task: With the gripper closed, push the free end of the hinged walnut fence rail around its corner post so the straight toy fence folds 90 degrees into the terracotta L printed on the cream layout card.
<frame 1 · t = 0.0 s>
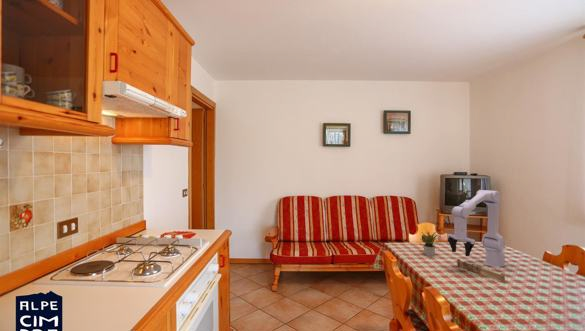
hand: (460, 253, 149), 10 cm above the table, fingers open, 7 cm apart
layout card: (486, 273, 148), on the table
fence panel: (467, 265, 151), point 2 cm above the table, hinge at 0.0°
house plant: (431, 255, 177), on the table
fence fixed: (479, 274, 145), resting on layout card
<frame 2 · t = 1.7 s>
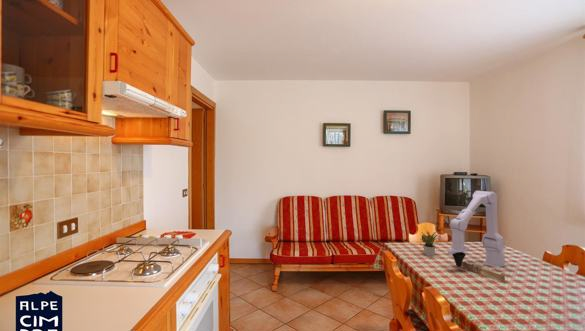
hand: (458, 265, 151), 3 cm above the table, fingers closed
nothing on the table moved.
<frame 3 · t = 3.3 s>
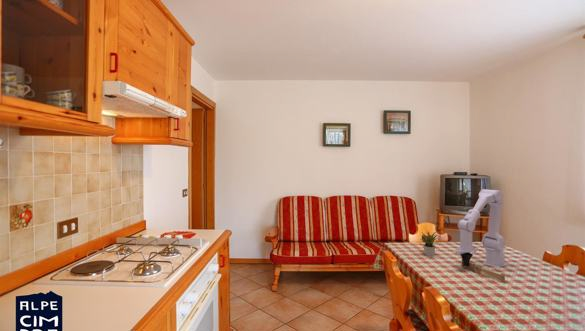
hand: (466, 265, 153), 2 cm above the table, fingers closed, pressing on fence panel
fence panel: (469, 265, 152), point 3 cm above the table, hinge at 16.1°, touching gripper
everything else where it was.
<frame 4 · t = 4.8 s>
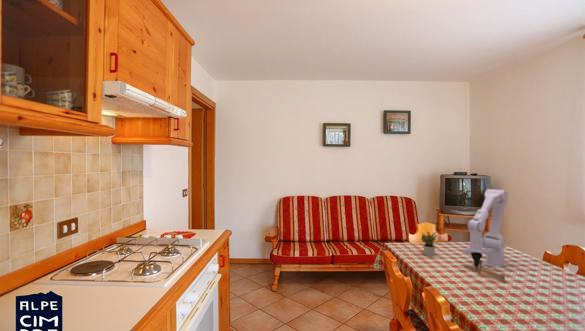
hand: (476, 266, 153), 2 cm above the table, fingers closed, pressing on fence panel
fence panel: (479, 266, 151), point 3 cm above the table, hinge at 58.8°, touching gripper
everything else where it was.
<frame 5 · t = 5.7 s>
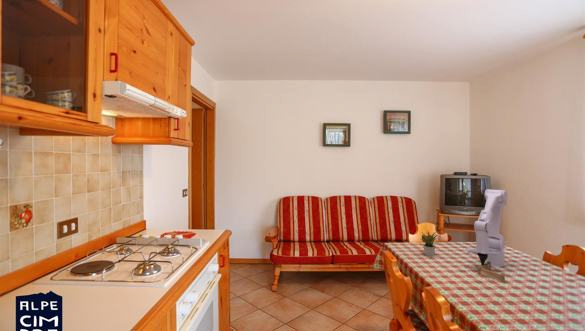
hand: (482, 267, 151), 2 cm above the table, fingers closed, pressing on fence panel
fence panel: (484, 267, 149), point 2 cm above the table, hinge at 80.1°, touching gripper
everything else where it was.
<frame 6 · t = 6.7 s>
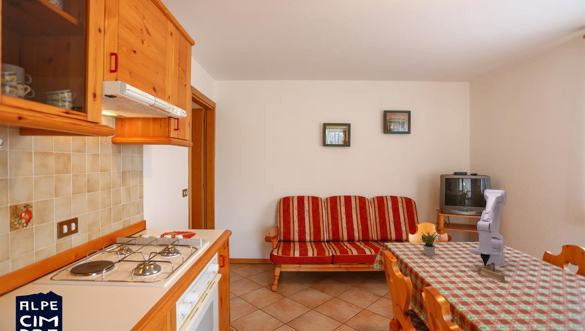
hand: (485, 267, 150), 2 cm above the table, fingers closed
fence panel: (487, 268, 148), point 3 cm above the table, hinge at 90.4°, touching gripper
everything else where it was.
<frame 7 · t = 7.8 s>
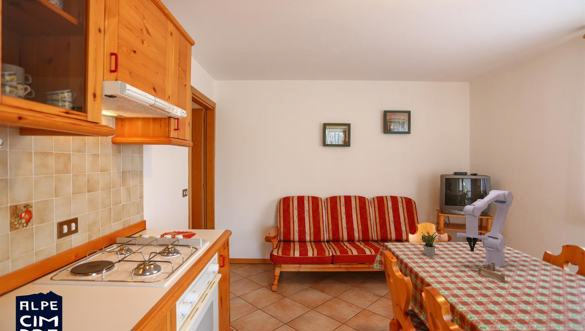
hand: (472, 251, 154), 10 cm above the table, fingers closed
fence panel: (487, 268, 148), point 3 cm above the table, hinge at 90.4°
everything else where it was.
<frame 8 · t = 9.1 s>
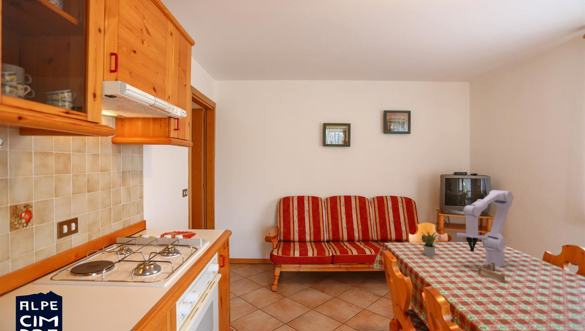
hand: (472, 251, 154), 10 cm above the table, fingers closed
nothing on the table moved.
at the end: fence panel at +90° (first picture: +0°); fence panel touching nothing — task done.
